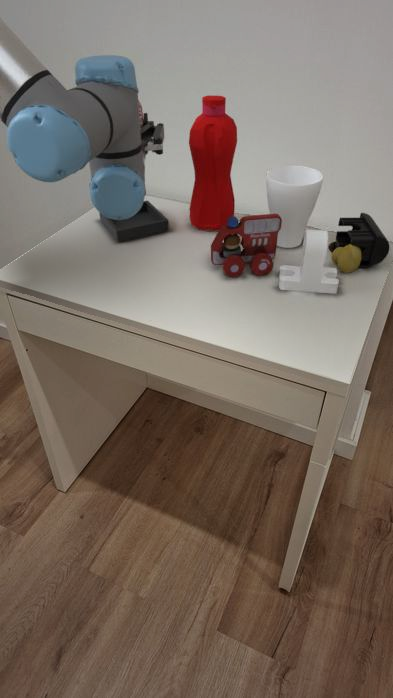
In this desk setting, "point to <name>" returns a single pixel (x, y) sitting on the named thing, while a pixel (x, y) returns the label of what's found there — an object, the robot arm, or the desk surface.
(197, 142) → the water bottle
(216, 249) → the toy fire truck
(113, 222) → the tray
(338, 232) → the end cap
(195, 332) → the desk surface
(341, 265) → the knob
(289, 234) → the cup
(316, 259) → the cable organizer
